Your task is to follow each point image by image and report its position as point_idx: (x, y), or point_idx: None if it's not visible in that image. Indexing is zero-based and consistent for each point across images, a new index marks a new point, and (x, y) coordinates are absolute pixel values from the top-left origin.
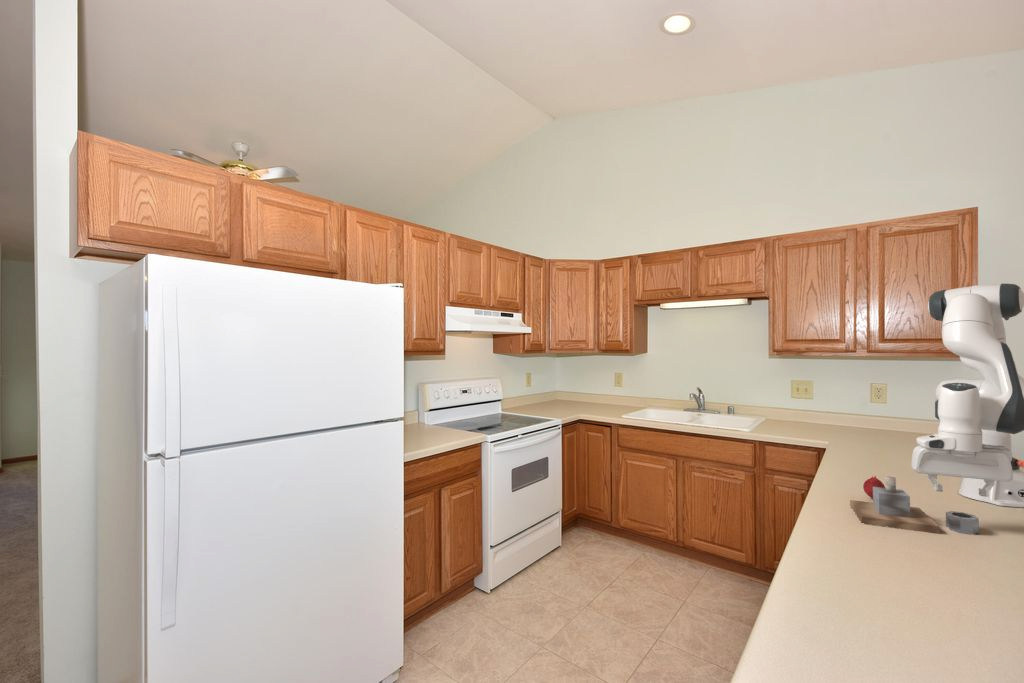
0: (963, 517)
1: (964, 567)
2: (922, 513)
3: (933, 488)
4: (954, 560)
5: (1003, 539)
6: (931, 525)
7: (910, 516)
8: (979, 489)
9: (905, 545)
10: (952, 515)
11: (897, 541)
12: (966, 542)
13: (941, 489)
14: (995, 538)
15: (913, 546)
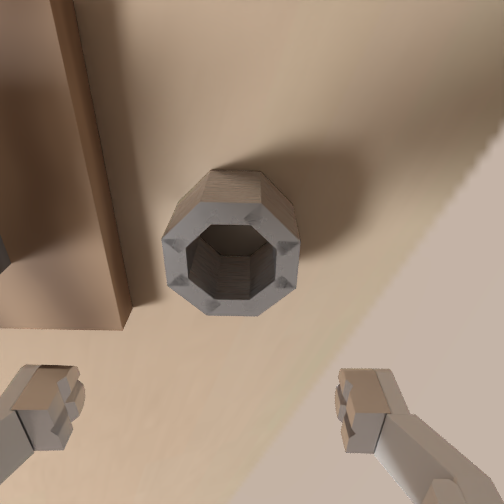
0: (225, 300)
1: (145, 491)
2: (66, 154)
3: (21, 370)
4: (133, 470)
5: (352, 281)
6: (94, 329)
7: (10, 240)
8: (350, 418)
9: None
10: (180, 289)
11: None
12: (201, 356)
13: (72, 415)
14: (326, 281)
15: None
